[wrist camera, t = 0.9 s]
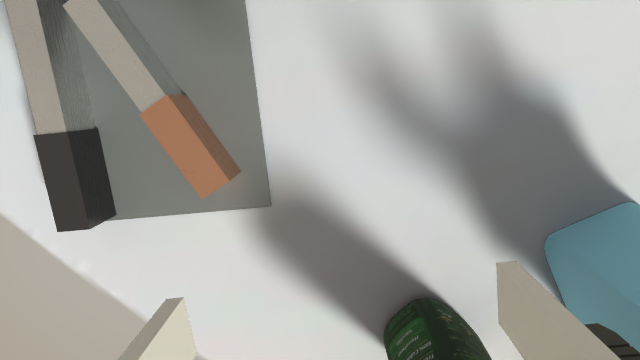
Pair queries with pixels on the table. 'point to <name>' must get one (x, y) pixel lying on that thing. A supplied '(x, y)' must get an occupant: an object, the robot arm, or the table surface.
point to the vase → (601, 269)
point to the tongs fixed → (61, 114)
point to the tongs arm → (155, 94)
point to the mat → (204, 92)
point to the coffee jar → (431, 334)
